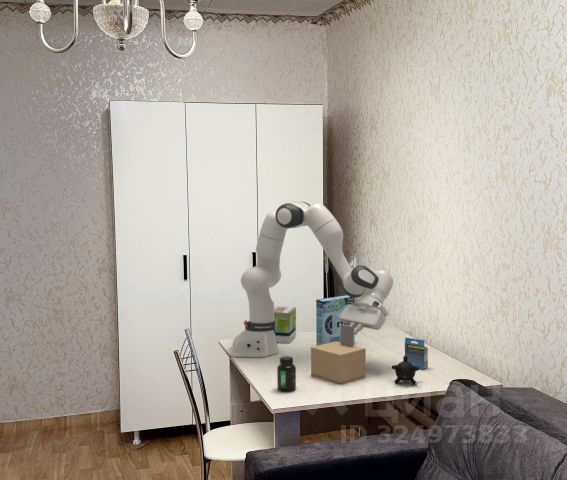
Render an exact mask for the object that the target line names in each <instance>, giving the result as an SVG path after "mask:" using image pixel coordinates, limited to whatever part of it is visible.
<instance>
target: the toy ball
mask: <svg viewBox="0 0 567 480" xmlns="http://www.w3.org/2000/svg"><path fill="white" fill-rule="evenodd" d="M402 358H403V361H400V362H398V364H393V365H391V370H393V371H394V373H395V377H396V379H394V383H395V385H398V384H399V383H400V382H401V381H402V382H410V383H411V385H416V383H417V381H416V380H415V376H416V372H418V371H420V368H419V367H418V366H417V367H416V366H413V364H411V363H410V362H408V356H405V355H403V357H402Z"/></svg>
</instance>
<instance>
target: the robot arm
mask: <svg viewBox="0 0 567 480" xmlns="http://www.w3.org/2000/svg"><path fill="white" fill-rule="evenodd" d="M305 226H308V228H309V229H310V231H311V232H312V233H313V235H314V237H315V238H316V239H317V241H318V242H319V244H320V246H321V248H322V249H323V251H324V253H325V254H326V256H327V258H328V260H329V262H330V263H331V265H332V267H333V268H334V271H335V272H336V275H338V277H339V279H340V280H339V281H340V283H341V288H342V291H343V293H344V294H345V295H348V296H349V297H352V298H355V299H356V298H360V299H359V301H358V303H356V302H355V303H352V304H349V305H348V306H347V307H346V308H345V309H344V310H343V312H342V313H341V314H340V316H339V317H340V320H341V321H342V322H343V323H347V324H351V326H352V327H353V334H354V335H355V336H357V335H358V334H359V332H361V331H362V330H363V329H364V328H365V329H366V328H367V329H371V330H376V331H379V330H380V329H382V327H383V325H384V324H385V321H386V319H387V318H386V317H388V315H389V311H388V310H387V309H386V308H385V306H384V305H383V304H384V301H385V300H386V299H387V298H388V296H389V295H390V292H391V291H392V288H393V286H394V278H393V277H392V275H391V274H390V273H389V272H387V271H386V270H384V269H378V270H377V269H374V268H373V269H372V268H369V267H368V266H367V265H364V264H363V265H362V264H361V265H356V266H355V267H353V268H352V266H351V265H350V263H349V261H348V260H347V258H346V257H345V255H344V251H343V241H344V232H343V229H342V227H341V225H340V223H339V222H338V220H337V219H336V218H335V216H334V215H333V214H332V212H331V211H330V210H329V209H328V208H327V207H326V206H325V205H324V204H322V203H321V202H315V203H312V204H310V203H308V202H305V201H292V202H285V203H284V204H281V205H279V206H278V207H277V209H276V210H273V211H269V212H267V214H266V215H265V218H264V220H263V221H262V224H261V228H260V230H259V235H258V239H257V243H256V246H255V252H256V255H257V257H256V258H257V262H256V265H255V266H253V267H250V268H248V269H247V270H245V272H243V273H242V274H241V278H240V283H241V287H242V288H243V289H244V290H245V293H246V296H247V300H248V307H249V310H248V311H249V312H248V313H249V320H244V321H243V326H244V330H242V331H241V332H240V333H239V334H238V335H236V336H235V337H234V339H233V342H232V347H229V348H228V349H227V354H228V356H229V357H232V358H239V357H240V358H268V357H269V356H273V355H276V354H278V353H279V348H278V345H277V344H278V343H276V338H275V332H276V323H275V320H274V309H275V303H274V301H273V300H272V297H271V293H270V289H271V288H273V287H274V286H276V285H277V284H278V283H279V282H280V281H281V279H282V278H281V277H282V272H281V269H280V266H281V265H280V264H281V263H280V259H281V254H282V249H283V245H284V242H285V237H286V233H287V231H288V229H297V228H301V227H305Z"/></svg>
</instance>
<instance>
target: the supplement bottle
mask: <svg viewBox="0 0 567 480" xmlns="http://www.w3.org/2000/svg"><path fill="white" fill-rule="evenodd" d="M293 363H294V357H293V356H290V355H284V356H281V357H279V364H278V365H277V367H276V371H277V377H276V379H277V386H276V387H277V390H278V391H279V392H283V393H289V392H294V391H296V389H297V374H296V373H297V369H296V365H295V364H293Z"/></svg>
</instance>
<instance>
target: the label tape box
mask: <svg viewBox="0 0 567 480" xmlns="http://www.w3.org/2000/svg"><path fill="white" fill-rule="evenodd" d="M414 342H415V343H414ZM428 351H429V349H428V346H425V340H424V339H418V338H413V337H412V338H411V337H405V338H404V356H408V362H410V363H411V364H413V366H416V367H417V366H418V367H419V368H420V369H421V370H426V369H428V368H429V359H428V358H429V356H428V354H429V352H428ZM420 369H419V370H420Z"/></svg>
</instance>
